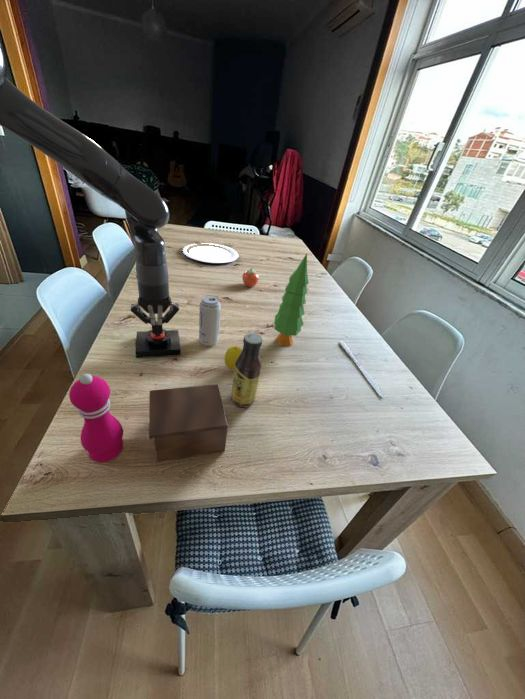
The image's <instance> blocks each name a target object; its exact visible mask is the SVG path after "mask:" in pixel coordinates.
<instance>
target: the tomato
mask: <svg viewBox="0 0 525 699" xmlns="http://www.w3.org/2000/svg"><path fill="white" fill-rule="evenodd" d="M241 278H242V282H243V284H244V285H245V286H246V287H248V288H254V287H255V286H256V285H257V284H258V282H259V279H260V275H259V274H258V273H257V271H256V270H254V269H253V268H252V267H251V268H250V269H248V270H245V271H244V272H243V273H242V277H241Z"/></svg>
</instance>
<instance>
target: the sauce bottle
mask: <svg viewBox="0 0 525 699" xmlns="http://www.w3.org/2000/svg"><path fill="white" fill-rule="evenodd" d="M242 342H243V346H242V352H241V354H240V356H239V357H238V359H237V361H236V362H235V368H234V370H233V376H232V384H231V390H230V398H231V402H232V403H233V404H234V405H235V406H237V407H240V408H247V407H250V406H251V405H252V404H254V402H255V399H256V397H257V396H256V395H257V391H258V386H259V381H260V376H261V370H262V364H263V361H262V357H261V355H260V350H261V347H262V345H263V337H262V335H260V334H258V333H255V332H249V333H248V332H247V333H246V334H245V335H244V336H243V341H242Z"/></svg>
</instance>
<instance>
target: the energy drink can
mask: <svg viewBox="0 0 525 699" xmlns="http://www.w3.org/2000/svg"><path fill="white" fill-rule="evenodd" d="M221 307H222V305H221V302H220V298H218V296H215V295H209V294H208V295H204V296H203V297H201V300H200V302H199V317H198V318H199V320H198V322H199V323H198V324H199V326H198V341H199V342H200V343H201V345H202V346H205V347H214V346H215V345H216V344H217V343H218V342H219V336H220V324H221V323H220V322H221Z"/></svg>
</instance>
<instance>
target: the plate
mask: <svg viewBox="0 0 525 699" xmlns="http://www.w3.org/2000/svg"><path fill="white" fill-rule="evenodd" d="M200 243H201V244H209V245H215V246H220V247H223V248H225V249H227V250H225V249H223V248H219V247H214V246H197V247H193V248H191V249H190V250H189V253H188V252H187V249H188V248H189V247H190V246H193V245H197V244H195V243H190V244H187V245H185V246H184V247H182V249H183V250H181V252H182V251H183V252H182V254H183V255H184V256H185V255H186V256H185V257H187V258H188V259H191V260H194V261H197V262H201V263H205V264H220V265H221V264H229V263H232V262H235V261H237V260H238V259H239V253H238V252H237V251H236V250H235V249H234V248H231V247H229V246H226V245H223V244H218V243H212V242H200ZM228 250H229V251H230V252H229V251H228Z"/></svg>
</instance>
